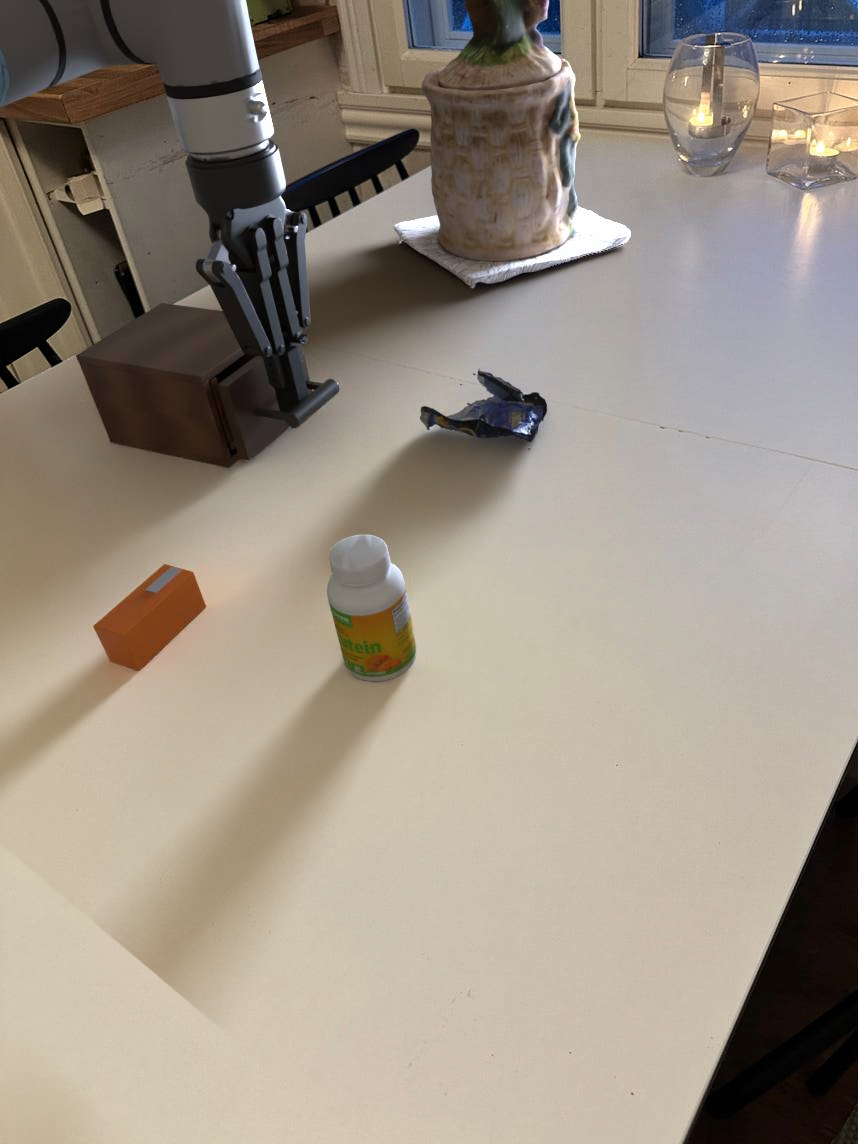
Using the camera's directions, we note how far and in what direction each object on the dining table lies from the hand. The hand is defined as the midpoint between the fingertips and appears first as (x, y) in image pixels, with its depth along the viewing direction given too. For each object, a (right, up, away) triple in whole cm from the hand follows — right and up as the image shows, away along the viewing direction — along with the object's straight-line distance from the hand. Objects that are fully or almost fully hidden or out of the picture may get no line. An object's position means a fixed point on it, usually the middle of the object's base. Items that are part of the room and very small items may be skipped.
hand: (296, 411), depth 92 cm
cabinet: (-11, 0, +7) cm, 13 cm away
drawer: (-6, 0, +4) cm, 7 cm away
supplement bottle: (+11, -24, -22) cm, 34 cm away
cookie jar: (+22, +32, +38) cm, 54 cm away
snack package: (+19, -2, +1) cm, 19 cm away
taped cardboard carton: (-7, -22, -18) cm, 29 cm away
